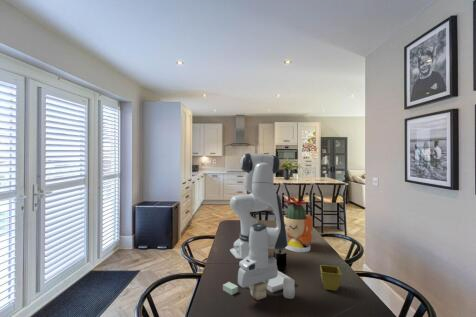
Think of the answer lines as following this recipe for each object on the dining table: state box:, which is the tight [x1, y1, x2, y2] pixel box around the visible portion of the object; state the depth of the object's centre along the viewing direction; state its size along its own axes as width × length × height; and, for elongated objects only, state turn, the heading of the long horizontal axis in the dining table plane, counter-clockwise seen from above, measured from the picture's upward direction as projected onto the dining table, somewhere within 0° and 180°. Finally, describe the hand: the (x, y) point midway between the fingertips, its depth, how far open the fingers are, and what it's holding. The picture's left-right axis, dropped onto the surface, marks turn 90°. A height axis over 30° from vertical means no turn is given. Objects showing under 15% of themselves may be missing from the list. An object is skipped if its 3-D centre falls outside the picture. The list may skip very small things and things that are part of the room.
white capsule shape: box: [282, 277, 296, 300], centre depth 114 cm, size 5×5×7 cm
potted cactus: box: [283, 196, 314, 253], centre depth 177 cm, size 22×22×35 cm
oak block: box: [250, 282, 267, 301], centre depth 114 cm, size 5×5×6 cm
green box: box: [222, 281, 239, 296], centre depth 117 cm, size 6×4×3 cm, turn 45°
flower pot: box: [319, 264, 342, 292], centre depth 121 cm, size 9×9×9 cm
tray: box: [263, 270, 291, 293], centre depth 126 cm, size 14×14×2 cm
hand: (258, 291), depth 114 cm, fingers closed on oak block, 5 cm apart
